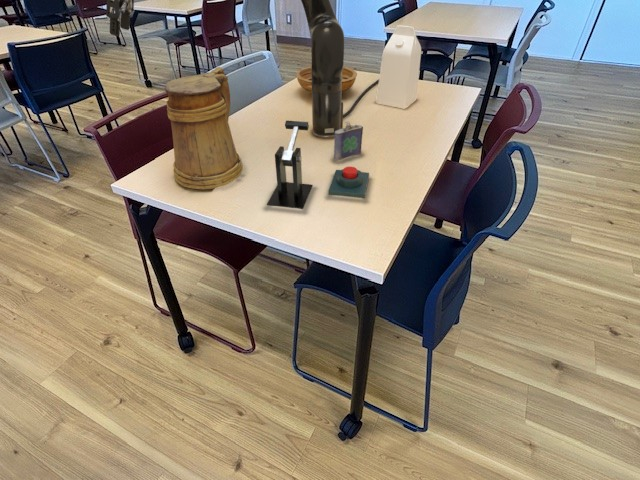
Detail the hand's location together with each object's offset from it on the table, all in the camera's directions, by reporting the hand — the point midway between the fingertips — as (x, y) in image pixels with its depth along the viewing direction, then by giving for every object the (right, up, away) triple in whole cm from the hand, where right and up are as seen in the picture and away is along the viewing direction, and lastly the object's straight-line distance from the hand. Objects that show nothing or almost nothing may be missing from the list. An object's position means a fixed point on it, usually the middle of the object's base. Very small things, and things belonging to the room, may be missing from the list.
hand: (119, 31), depth 102 cm
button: (+62, -40, -6) cm, 74 cm away
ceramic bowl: (+57, +4, +53) cm, 78 cm away
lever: (+48, -34, -11) cm, 59 cm away
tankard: (+24, -37, +5) cm, 44 cm away
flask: (+62, -32, +10) cm, 71 cm away
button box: (+62, -43, -4) cm, 75 cm away
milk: (+84, -2, +46) cm, 96 cm away
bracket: (+47, -46, -7) cm, 66 cm away
